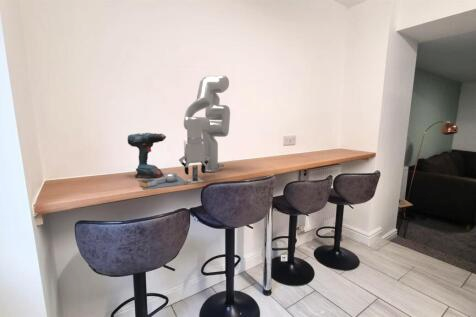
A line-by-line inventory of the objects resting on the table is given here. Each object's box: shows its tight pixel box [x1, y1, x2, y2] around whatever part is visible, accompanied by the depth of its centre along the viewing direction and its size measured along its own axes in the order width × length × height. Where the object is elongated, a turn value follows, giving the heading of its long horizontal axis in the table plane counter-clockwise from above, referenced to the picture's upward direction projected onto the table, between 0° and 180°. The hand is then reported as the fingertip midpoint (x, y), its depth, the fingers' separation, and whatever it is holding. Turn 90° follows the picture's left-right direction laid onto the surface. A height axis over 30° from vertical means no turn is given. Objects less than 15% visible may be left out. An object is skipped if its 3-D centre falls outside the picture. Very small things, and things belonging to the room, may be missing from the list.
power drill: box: [127, 132, 167, 179], centre depth 135 cm, size 9×23×25 cm, turn 79°
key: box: [191, 164, 199, 181], centre depth 128 cm, size 3×3×8 cm
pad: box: [186, 177, 204, 184], centre depth 129 cm, size 7×7×1 cm
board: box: [137, 175, 190, 191], centre depth 126 cm, size 22×19×1 cm
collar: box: [138, 172, 178, 187], centre depth 123 cm, size 19×7×4 cm, turn 136°
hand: (195, 173), depth 128 cm, fingers open, 8 cm apart
